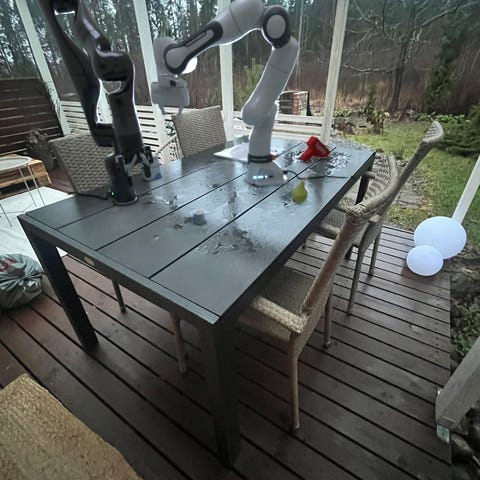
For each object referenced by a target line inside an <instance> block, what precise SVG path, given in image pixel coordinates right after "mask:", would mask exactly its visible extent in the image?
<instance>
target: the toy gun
mask: <svg viewBox="0 0 480 480" xmlns="http://www.w3.org/2000/svg"><path fill="white" fill-rule="evenodd" d="M306 146H307V148H306V149H305V151H304V152H303V153H301V154H300V160H301V161H302V160H303V161H302V162H305V163H307V164H308V163H309V161H310V160H311V158H313V157H314V158H319V159H322V160H327V158H328V157H329V156H330V154H331V153H332V152H331V151H330V150H329V148H328V147H326V145H325V144H324V143H323V142H322V141H321V140H320V139H319V138H318V137H317V136H315V135H314V136H313V135H311V136H310V137H309V139H308V140H307V141H306ZM321 157H322V158H321ZM323 157H327V158H324V159H323ZM306 161H308V162H306Z"/></svg>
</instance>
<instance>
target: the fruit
mask: <svg viewBox="0 0 480 480" xmlns="http://www.w3.org/2000/svg"><path fill="white" fill-rule="evenodd" d="M309 177H311V175H310V174H309V175H308V176H307V177H305V178H306V179H301V181H300V182H298V184H297V185H296V186H295V187H294V188H293V190H292V191H291V198H292V200H293V201H294V202H295V203H297V204H301V203H304V202H305V201H306V200H307V198H308V196H309V195H308V190H307V189H306V184H305V183H306V180H308V179H307V178H309Z"/></svg>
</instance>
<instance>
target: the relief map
mask: <svg viewBox="0 0 480 480" xmlns="http://www.w3.org/2000/svg"><path fill="white" fill-rule="evenodd" d="M248 152H249V141H247V142H245V141H243V142H242V143H241V144H238V145H236V146H232V147H230V148H229V147H228V148H227V149H226V148H224V149H222V151H219V152H215V153H213V156H214V157H218V158H222V159H227V160H230V161H231V160H232V161H236V162H242V163H246V164H248V163H247V155H248ZM270 153H272V154H273V155H274V156H275V157H277V156H279V155H280V153H279V152H277V151H272V150H270Z"/></svg>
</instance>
